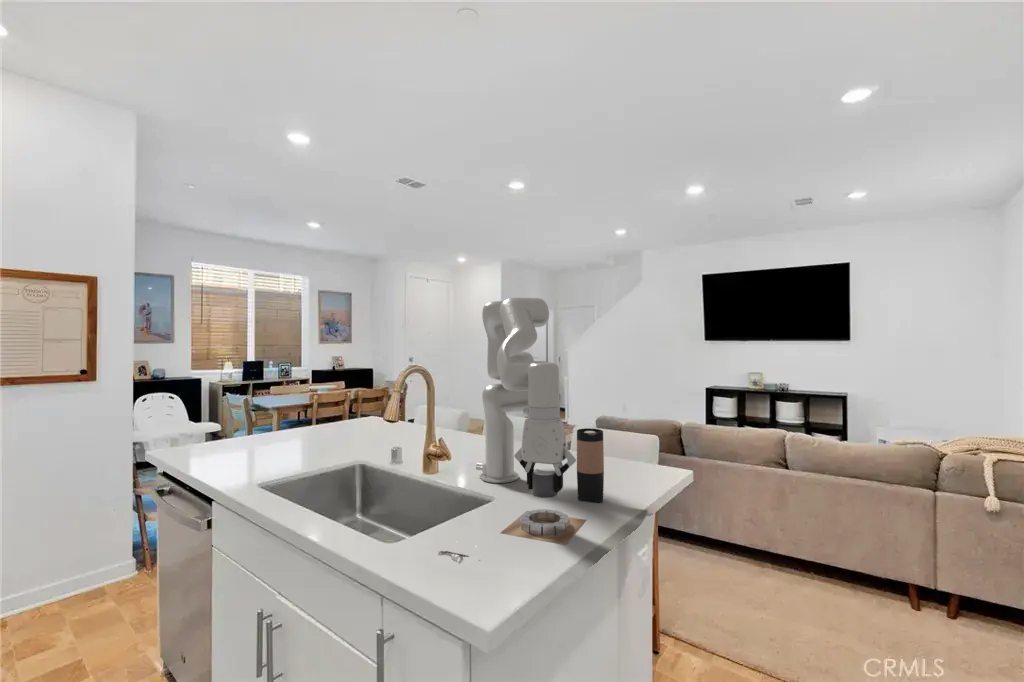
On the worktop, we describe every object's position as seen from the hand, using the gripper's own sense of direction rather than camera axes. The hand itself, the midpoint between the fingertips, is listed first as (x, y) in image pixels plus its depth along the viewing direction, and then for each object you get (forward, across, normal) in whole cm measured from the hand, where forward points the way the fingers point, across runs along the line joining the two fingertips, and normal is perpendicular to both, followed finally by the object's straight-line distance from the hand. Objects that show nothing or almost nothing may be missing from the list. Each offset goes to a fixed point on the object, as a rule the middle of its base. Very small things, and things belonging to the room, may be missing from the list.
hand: (544, 488), depth 112 cm
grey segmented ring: (+9, 0, 0) cm, 9 cm away
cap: (+1, 0, 0) cm, 1 cm away
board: (+10, 0, 0) cm, 10 cm away
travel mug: (+10, +4, +26) cm, 29 cm away
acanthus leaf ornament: (+11, -13, -18) cm, 25 cm away
